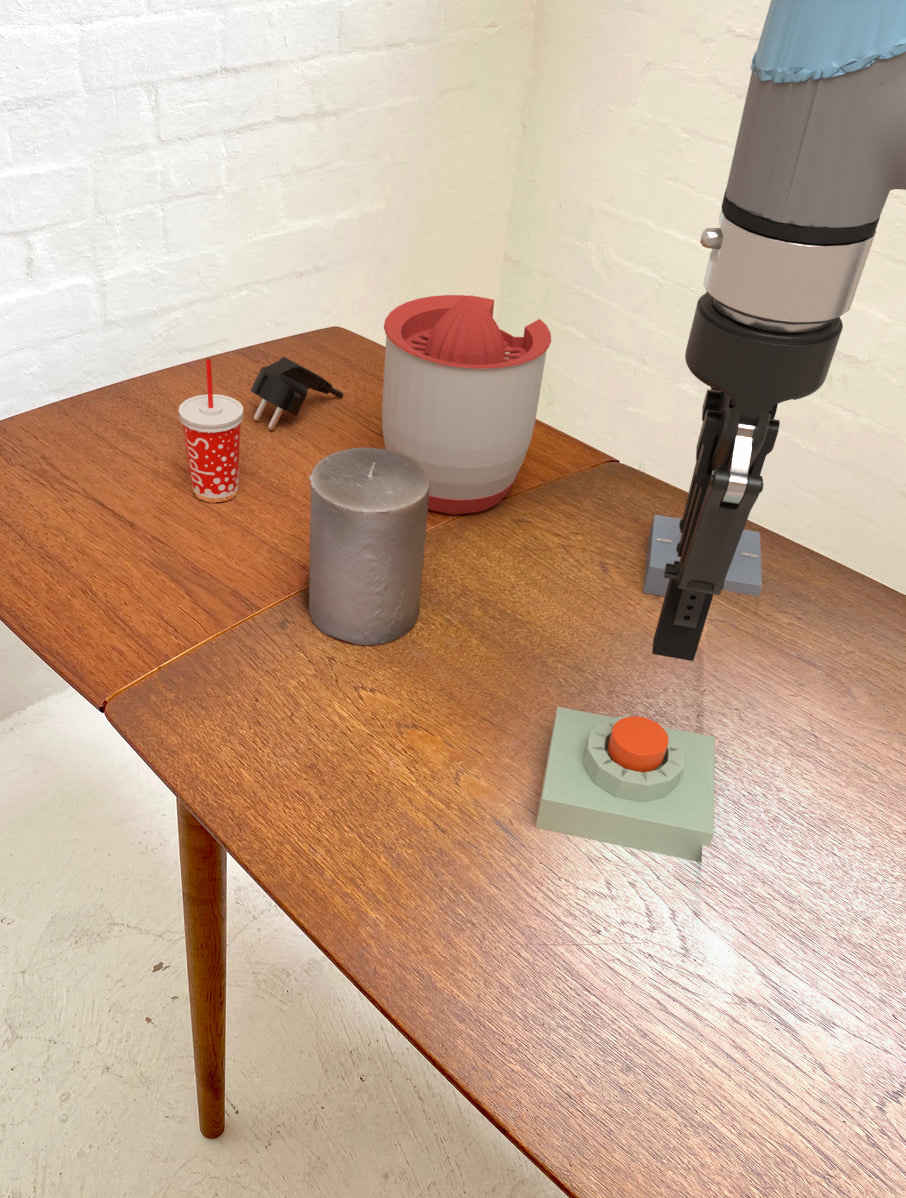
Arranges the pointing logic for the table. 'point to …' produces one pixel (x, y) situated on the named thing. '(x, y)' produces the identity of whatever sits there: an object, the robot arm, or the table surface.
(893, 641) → the table surface
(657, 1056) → the table surface
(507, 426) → the citrus juicer
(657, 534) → the dial panel
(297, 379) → the power plug
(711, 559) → the robot arm
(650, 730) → the orange push button
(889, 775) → the table surface
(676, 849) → the push button base
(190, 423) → the beverage cup
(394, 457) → the pillar candle
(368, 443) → the table surface
